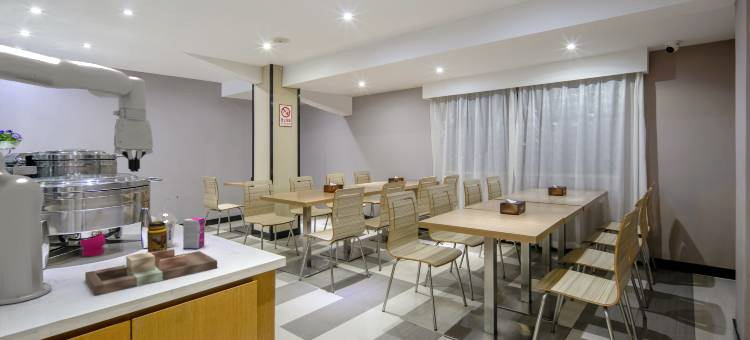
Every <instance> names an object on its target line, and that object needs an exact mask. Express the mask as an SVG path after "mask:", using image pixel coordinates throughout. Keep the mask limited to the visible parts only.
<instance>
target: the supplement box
mask: <svg viewBox="0 0 750 340" xmlns="http://www.w3.org/2000/svg"><path fill="white" fill-rule="evenodd" d="M182 225H183V229H182V230H183V240H182V242H183V243H182V246H183V247H182V249H183V250H199V249H201V248H202V247H204V246H205V227H206V226H205V225H206V223H205V217H188V218H186V219H183V224H182Z"/></svg>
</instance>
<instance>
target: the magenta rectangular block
mask: <svg viewBox="0 0 750 340" xmlns="http://www.w3.org/2000/svg"><path fill="white" fill-rule="evenodd" d="M105 244H106V238H105V235H104V234H103V233H102V231H101V232H100V234H99V235H98V236H95V237H93V238H91V239H87V240H81V239H80V241H79V246H80V247H81V248H82V249H83V250H82V252H81V253H82V254H81V255H83V257H85V256H89V257H96V255H97V256H100V254H101V255H103V254H104V253H105V248H104V245H105Z"/></svg>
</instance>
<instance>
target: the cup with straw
mask: <svg viewBox="0 0 750 340" xmlns="http://www.w3.org/2000/svg"><path fill="white" fill-rule="evenodd" d="M176 199H179V196H172V197H166V198H164V199H163V211H162V212H160V213H157V215H156V217H155V218H154V220H153V221H152V222H156V221H163V222H165V228H166V230H167V249H168V248H169V249H170V248H172V247H173V243H174V238H175V237H174V235H175V229H176V224H177V223H178V221H179V220H178V218H176V216H175V215H174V213H172V212H170V211H167V207H166V206H167V201H169V200H176Z"/></svg>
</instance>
